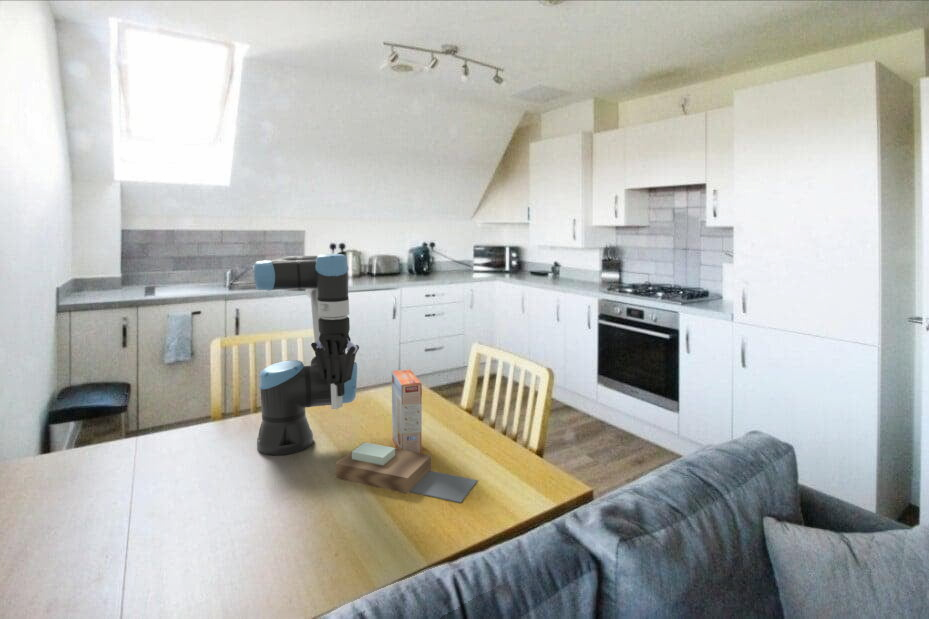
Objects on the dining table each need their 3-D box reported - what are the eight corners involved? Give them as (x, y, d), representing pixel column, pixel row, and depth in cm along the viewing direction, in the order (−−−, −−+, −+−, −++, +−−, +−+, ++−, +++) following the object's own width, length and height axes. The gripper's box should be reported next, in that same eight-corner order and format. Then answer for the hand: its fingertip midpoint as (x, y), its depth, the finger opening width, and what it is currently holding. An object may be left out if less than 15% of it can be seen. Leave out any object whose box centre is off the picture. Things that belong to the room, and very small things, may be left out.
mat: (409, 492, 126) (409, 490, 126) (429, 471, 136) (429, 470, 136) (460, 503, 122) (460, 501, 121) (477, 481, 132) (477, 479, 132)
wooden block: (335, 478, 133) (335, 463, 132) (364, 456, 144) (363, 442, 144) (407, 494, 125) (407, 478, 125) (431, 469, 137) (431, 455, 137)
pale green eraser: (351, 459, 134) (351, 451, 134) (364, 449, 140) (364, 442, 139) (383, 465, 131) (383, 457, 131) (395, 455, 136) (395, 447, 136)
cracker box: (423, 456, 145) (422, 382, 141) (401, 459, 143) (400, 384, 139) (412, 436, 158) (411, 368, 154) (391, 439, 156) (390, 369, 152)
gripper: (302, 317, 132) (306, 408, 136) (347, 321, 127) (350, 415, 131) (321, 312, 138) (324, 399, 143) (364, 316, 134) (367, 406, 138)
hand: (337, 407), depth 137 cm, fingers closed
